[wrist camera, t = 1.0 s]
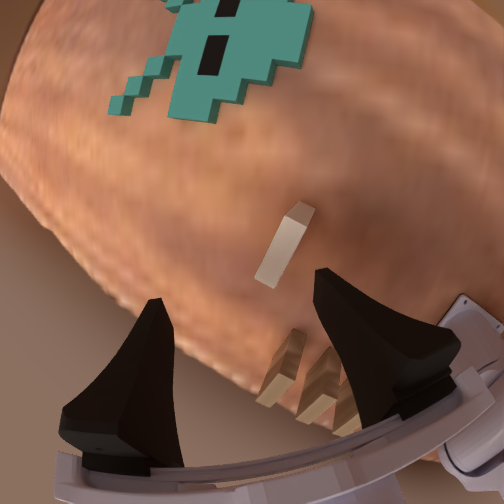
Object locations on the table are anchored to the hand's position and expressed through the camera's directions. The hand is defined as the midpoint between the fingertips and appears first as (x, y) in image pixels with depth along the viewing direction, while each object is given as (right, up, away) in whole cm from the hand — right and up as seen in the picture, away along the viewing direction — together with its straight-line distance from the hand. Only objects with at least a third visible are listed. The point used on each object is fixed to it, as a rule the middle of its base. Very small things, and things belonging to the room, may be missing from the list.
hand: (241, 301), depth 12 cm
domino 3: (+12, -12, +15) cm, 23 cm away
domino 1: (+5, -8, +16) cm, 19 cm away
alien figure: (-4, +24, +8) cm, 26 cm away
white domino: (+4, +4, +12) cm, 13 cm away
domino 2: (+8, -10, +16) cm, 21 cm away
